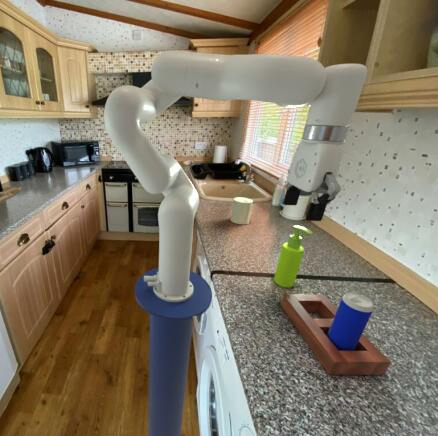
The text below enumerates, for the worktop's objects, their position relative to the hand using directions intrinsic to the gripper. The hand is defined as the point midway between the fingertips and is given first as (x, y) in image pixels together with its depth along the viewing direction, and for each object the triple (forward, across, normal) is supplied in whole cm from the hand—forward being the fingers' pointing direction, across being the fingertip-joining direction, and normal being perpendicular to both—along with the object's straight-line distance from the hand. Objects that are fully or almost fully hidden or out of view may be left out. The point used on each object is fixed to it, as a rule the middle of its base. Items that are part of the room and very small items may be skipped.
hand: (300, 212), depth 57 cm
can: (+30, -63, +12) cm, 71 cm away
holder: (+29, +9, +9) cm, 32 cm away
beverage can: (+29, +13, +9) cm, 33 cm away
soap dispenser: (+30, -12, +10) cm, 33 cm away
